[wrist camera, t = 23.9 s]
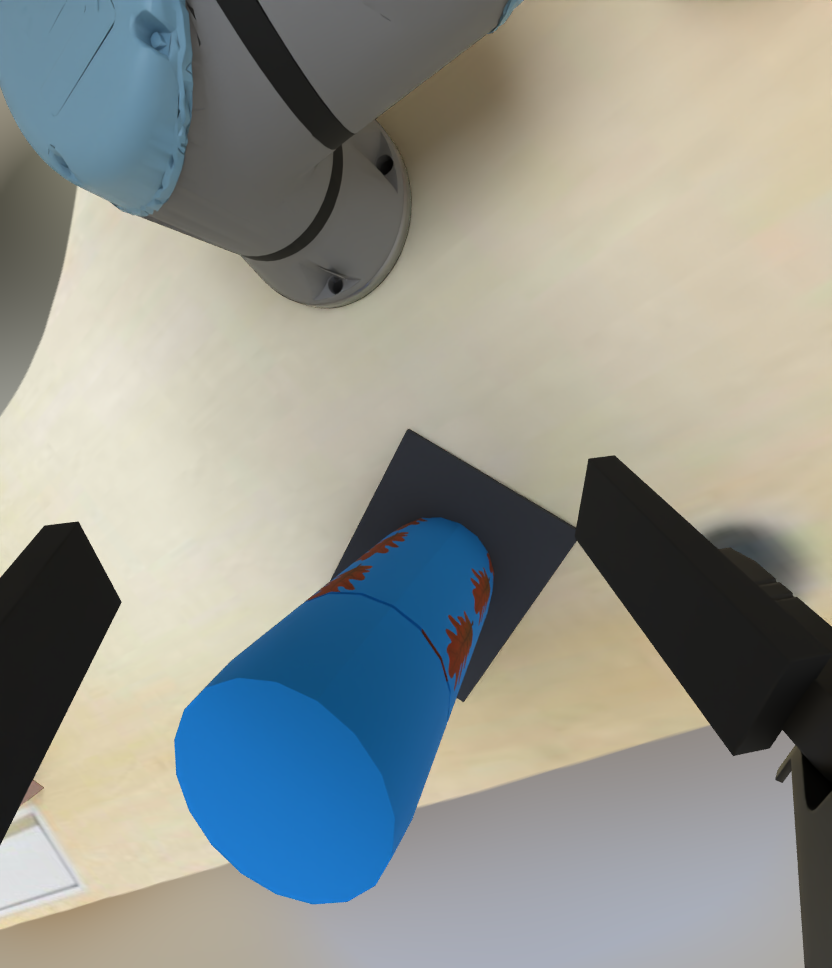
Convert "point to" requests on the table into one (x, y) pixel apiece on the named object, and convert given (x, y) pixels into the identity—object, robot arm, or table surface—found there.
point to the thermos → (337, 716)
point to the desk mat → (486, 513)
